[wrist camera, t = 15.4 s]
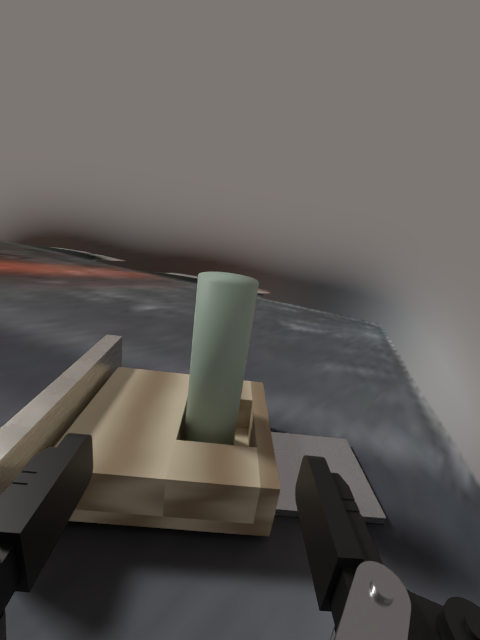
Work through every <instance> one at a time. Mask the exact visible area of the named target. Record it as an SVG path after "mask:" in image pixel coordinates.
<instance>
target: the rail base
mask: <svg viewBox="0 0 480 640" xmlns="http://www.w3.org/2000/svg"><path fill="white" fill-rule="evenodd" d="M118 367H122V336H114V335H106V336H105V337H104V338H102V339H101V340H100V341H99V342H98V343H97V344H96V345H94V346H93V347H92V348H91V349H90V350H89V351H88V352H86V353H85V354H84V355H83V356H82V357H81V358H80V359H79V360H77V361H76V362H75V363H74V364H73V365H72V366H71V367H69V368H68V369H67V370H66V371H65V372H64V373H63V374H62V375H60V376H59V377H58V378H57V379H56V380H55V381H54V382H52V383H51V384H50V385H49V386H48V387H47V388H46V389H44V390H43V391H42V392H41V393H40V394H39V395H38V396H37V397H35V398H34V399H33V400H32V401H31V402H30V403H29V404H27V405H26V406H25V407H24V408H23V409H22V410H21V411H20V412H18V413H17V414H16V415H15V416H14V417H13V418H12V419H10V420H9V421H8V422H7V423H6V424H5V425H4V426H2V427H1V428H0V496H1V495H2V494H3V493H4V491H5V490H6V489H7V488H8V487H9V486H10V485H12V483H13V481H14V480H15V479H16V477H17V476H18V475H19V474H20V473H22V470H23V469H24V468H25V467H26V466H27V464H28V463H29V462H30V461H31V460H32V459H33V457H35V456H36V455H38V454H39V453H41V452H42V451H44V450H45V449H46V448H48V447H54V446H55V445H56V444H57V443H58V442H59V440H60V439H61V438H62V437H63V435H64V434H65V433H66V432H67V430H68V429H69V428H70V427H71V425H72V424H73V423H74V422H75V420H76V419H77V418H78V417H79V415H80V414H81V413H82V412H83V410H84V409H85V408H86V407H87V405H88V404H89V403H90V402H91V400H92V399H93V398H94V397H95V395H96V394H97V393H98V392H99V390H100V389H101V388H102V387H103V385H104V384H105V383H106V382H107V381H108V379H109V378H110V377H111V376H112V374H113V373H114V372H115V371H116V369H117V368H118ZM271 436H272V441H273V447H274V453H275V459H276V465H277V471H278V477H279V483H280V489H281V490H280V494H279V498H278V502H277V507H276V511H275V515H278V516H290V517H299V515H298V510H297V506H296V500H295V487H296V482H297V478H298V474H299V470H300V466H301V462H302V458H303V456H304V455H309V456H319V457H324V458H325V459H326V461H327V464H328V466H329V469H330V472H331V473H338V474H339V475H340V476H341V477H342V478H343V479H344V481H345V482H346V483H347V484H348V485H349V487H350V490H351V492H352V494H353V497H354V499H355V502H356V504H357V506H358V508H359V510H360V514H361V515H362V517H363V520H364V522H365V523H374V524H384V523H385V521H386V516H385V514H384V512H383V511H382V509H381V507H380V505H379V503H378V501H377V499H376V497H375V495H374V493H373V491H372V489H371V487H370V485H369V483H368V481H367V479H366V477H365V475H364V473H363V471H362V469H361V467H360V465H359V463H358V461H357V459H356V457H355V455H354V454H353V452H352V450H351V448H350V446H349V444H348V442H347V440H346V439H339V438H329V437H319V436H309V435H299V434H288V433H278V432H271Z"/></svg>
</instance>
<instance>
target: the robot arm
mask: <svg viewBox="0 0 480 640" xmlns="http://www.w3.org/2000/svg"><path fill="white" fill-rule="evenodd" d="M92 473H93V443H92V436H91V435H88V434H77V433H68V434H67V435H66V436H65V437H64V438H63V440H62V441H61V442H60V443H59V445H58V446H57V447H48V448H46V449H45V450H44V451H42V452H41V453H39V454H38V455H36V456H35V457H33V459H32V460H31V461H30V462H29V463H28V464H27V466H26V467H25V468H24V469H23V470H22V473H20V474H19V475H18V476H17V477H16V479H15V480H14V481H13V483H12V485H10V486H9V487H8V488H7V489H6V490H5V491H4V493H3V494H2V495H1V496H0V640H6V615H5V607H6V605H7V604H8V602H9V600H10V599H11V597H12V595H13V594H14V592H15V591H20V592H30V590H31V588H32V586H33V584H34V583H35V581H36V579H37V577H38V575H39V574H40V572H41V570H42V568H43V566H44V565H45V563H46V561H47V559H48V557H49V555H50V554H51V552H52V550H53V548H54V546H55V545H56V543H57V541H58V539H59V537H60V536H61V534H62V532H63V530H64V528H65V527H66V525H67V523H68V521H69V519H70V517H71V516H72V514H73V512H74V510H75V508H76V507H77V505H78V503H79V501H80V499H81V498H82V496H83V494H84V492H85V490H86V489H87V487H88V485H89V483H90V480H91V477H92ZM295 500H296V506H297V510H298V515H299V519H300V524H301V528H302V533H303V538H304V542H305V547H306V551H307V556H308V560H309V565H310V569H311V574H312V578H313V583H314V588H315V592H316V597H317V601H318V606H319V610H320V611H332V615H333V619H334V623H335V626H334V629H333V632H332V635H331V638H330V640H480V607H478V606H477V605H475V604H474V603H472V602H470V601H469V600H466V599H464V598H460V597H452V598H449V599H448V600H447V601H446V603H445V605H444V606H442V605H439V604H437V603H435V602H432V601H430V600H428V599H426V598H423V597H421V596H419V595H416V594H414V593H412V592H410V591H409V590H407V589H406V588H405V587H404V585H403V583H402V582H401V581H400V579H399V578H398V577H397V576H396V575H395V574H394V573H393V572H392V571H391V570H390V569H388V568H387V567H386V566H384V565H383V563H382V561H381V559H380V556H379V554H378V552H377V550H376V547H375V545H374V543H373V540H372V538H371V536H370V533H369V531H368V529H367V527H366V524H365V522H364V520H363V517H362V515H361V514H360V510H359V508H358V506H357V504H356V502H355V499H354V497H353V494H352V492H351V490H350V487H349V485H348V484H347V483H346V482H345V481H344V479H343V478H342V477H341V476H340V475H339V474H338V473H331V472H330V469H329V466H328V464H327V461H326V459H325V458H324V457H319V456H309V455H304V456H303V458H302V462H301V466H300V470H299V474H298V478H297V482H296V487H295Z"/></svg>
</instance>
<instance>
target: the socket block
mask: <svg viewBox="0 0 480 640" xmlns="http://www.w3.org/2000/svg"><path fill="white" fill-rule="evenodd" d="M189 376H190V375H188V374H179V373H170V372H161V371H151V370H142V369H133V368H124V367H118V368H117V369H116V371H115V372H114V373H113V374H112V376H111V377H110V378H109V379H108V381H107V382H106V383H105V384H104V385H103V387H102V388H101V389H100V390H99V392H98V393H97V394H96V395H95V397H94V398H93V399H92V400H91V402H90V403H89V404H88V405H87V407H86V408H85V409H84V410H83V412H82V413H81V414H80V415H79V417H78V418H77V419H76V420H75V422H74V423H73V424H72V425H71V427H70V428H69V429H68V430H67V432H66V433H65V434H64V435H63V437H62V438H61V439H60V440H59V442H58V443H57V444H56V445H55V446H54V447H57V446H58V445H59V443H60V442H61V441H62V440H63V438H64V437H65V436H66V435H67V434H68V433H77V434H88V435H91V436H92V443H93V473H92V477H91V480H90V483H89V485H88V487H87V489H86V490H85V492H84V494H83V496H82V498H81V499H80V501H79V503H78V505H77V507H76V508H75V510H74V512H73V514H72V516H71V517H70V519H69V521H77V522H90V523H103V524H115V525H128V526H141V527H154V528H166V529H179V530H192V531H205V532H217V533H230V534H243V535H256V536H269V537H270V532H271V528H272V524H273V520H274V515H275V511H276V507H277V502H278V498H279V494H280V490H281V489H280V483H279V477H278V471H277V465H276V459H275V453H274V447H273V441H272V436H271V430H270V424H269V418H268V412H267V406H266V400H265V394H264V388H263V383H262V382H253V381H243V388H242V394H241V400H240V407H239V413H238V420H237V426H236V432H235V439H234V445H226V444H215V443H205V442H194V441H184V433H185V421H186V410H187V399H188V387H189Z"/></svg>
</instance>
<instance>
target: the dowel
mask: <svg viewBox="0 0 480 640" xmlns="http://www.w3.org/2000/svg"><path fill="white" fill-rule="evenodd" d="M258 285H259V282H258V281H257V280H256V279H253V278H251V277H247V276H243V275H238V274H232V273H225V272H202V273H200V274H198V284H197V296H196V307H195V319H194V330H193V341H192V353H191V364H190V376H189V387H188V399H187V410H186V421H185V433H184V441H194V442H205V443H215V444H226V445H234V439H235V432H236V426H237V420H238V413H239V407H240V400H241V394H242V388H243V381H244V375H245V368H246V362H247V356H248V349H249V343H250V336H251V330H252V324H253V317H254V311H255V304H256V298H257V291H258Z"/></svg>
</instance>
